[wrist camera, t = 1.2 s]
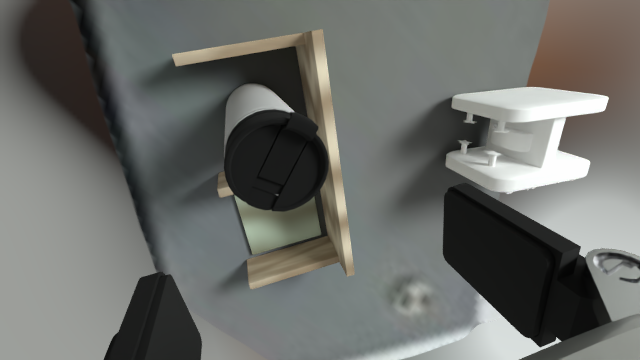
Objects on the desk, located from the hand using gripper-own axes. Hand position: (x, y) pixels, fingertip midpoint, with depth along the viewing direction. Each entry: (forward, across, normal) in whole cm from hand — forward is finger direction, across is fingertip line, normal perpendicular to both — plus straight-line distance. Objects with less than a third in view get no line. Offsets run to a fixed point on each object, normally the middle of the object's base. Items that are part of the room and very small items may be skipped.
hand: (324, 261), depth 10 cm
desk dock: (+28, 0, +7) cm, 29 cm away
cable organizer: (+28, -32, +9) cm, 44 cm away
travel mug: (+28, 0, 0) cm, 28 cm away
